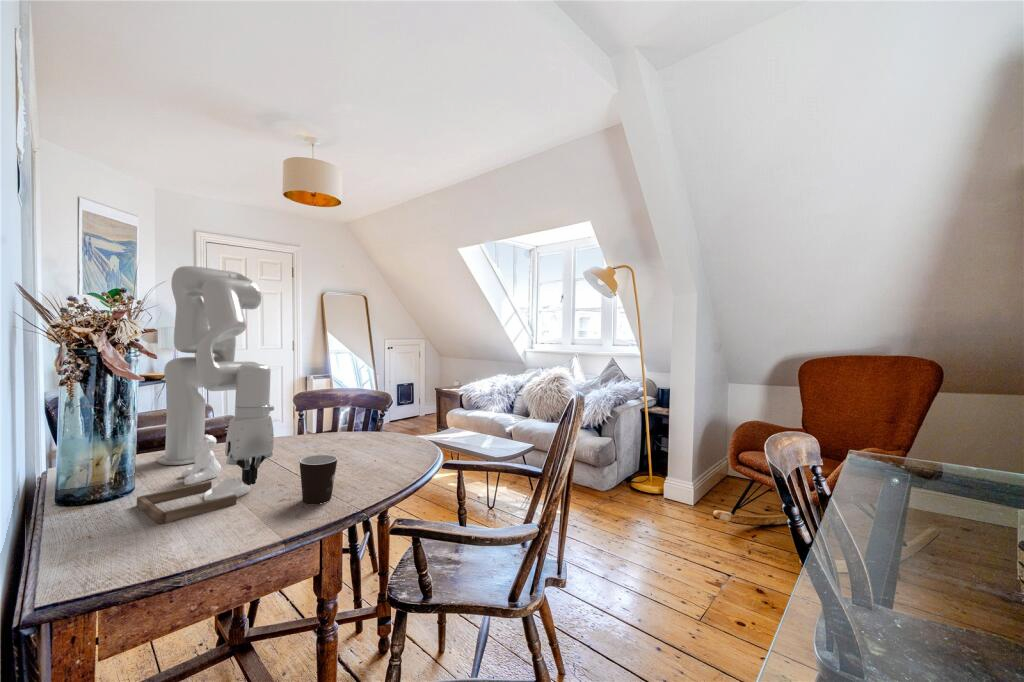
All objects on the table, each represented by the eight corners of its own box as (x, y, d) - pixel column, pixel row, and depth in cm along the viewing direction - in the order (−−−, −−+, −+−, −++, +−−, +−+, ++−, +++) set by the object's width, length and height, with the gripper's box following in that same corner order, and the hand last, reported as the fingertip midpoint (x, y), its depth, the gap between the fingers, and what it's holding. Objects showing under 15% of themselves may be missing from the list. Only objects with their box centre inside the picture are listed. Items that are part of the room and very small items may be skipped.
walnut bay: (136, 505, 98) (136, 497, 98) (209, 489, 110) (210, 481, 110) (159, 524, 89) (160, 515, 89) (236, 504, 101) (236, 495, 101)
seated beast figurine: (180, 476, 118) (181, 433, 118) (217, 470, 124) (219, 429, 123) (184, 486, 111) (186, 440, 111) (224, 479, 117) (226, 435, 117)
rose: (248, 483, 104) (199, 487, 99) (247, 501, 104) (199, 506, 99) (253, 470, 113) (208, 474, 108) (252, 487, 113) (207, 491, 108)
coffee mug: (321, 508, 101) (323, 466, 101) (289, 504, 102) (291, 462, 102) (349, 491, 112) (351, 453, 112) (320, 487, 114) (322, 450, 114)
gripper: (274, 407, 118) (271, 473, 118) (212, 413, 106) (209, 487, 106) (288, 410, 114) (286, 479, 114) (226, 418, 102) (223, 495, 102)
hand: (249, 483), depth 110 cm, fingers closed
